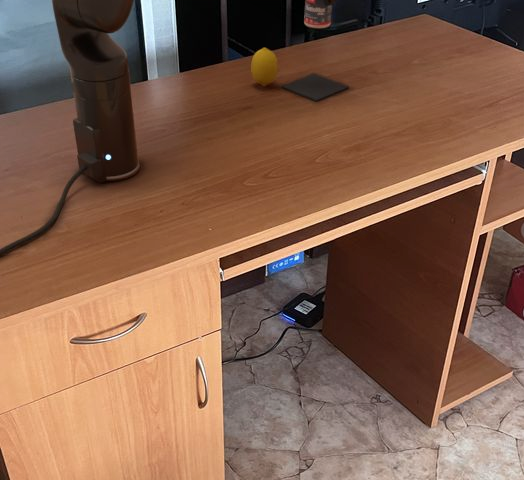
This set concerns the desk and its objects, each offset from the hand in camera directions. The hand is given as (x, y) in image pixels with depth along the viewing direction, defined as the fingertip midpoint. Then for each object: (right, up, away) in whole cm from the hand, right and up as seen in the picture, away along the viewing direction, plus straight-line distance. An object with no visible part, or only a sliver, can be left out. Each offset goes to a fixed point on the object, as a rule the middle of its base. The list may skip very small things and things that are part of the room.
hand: (318, 1), depth 153 cm
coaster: (0, -13, +12) cm, 17 cm away
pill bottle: (0, -4, +3) cm, 5 cm away
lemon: (-11, -13, +12) cm, 21 cm away
